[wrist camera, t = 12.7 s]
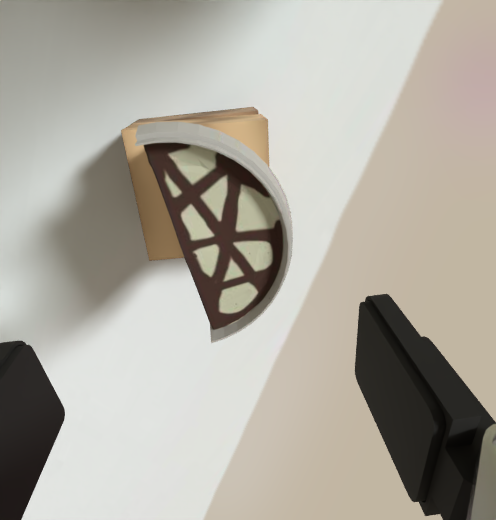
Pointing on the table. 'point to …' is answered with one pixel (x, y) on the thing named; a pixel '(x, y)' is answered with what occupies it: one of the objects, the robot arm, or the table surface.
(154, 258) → the oak slab
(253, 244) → the food container
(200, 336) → the table surface
